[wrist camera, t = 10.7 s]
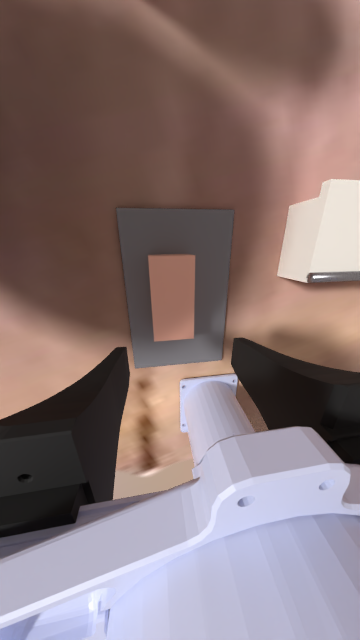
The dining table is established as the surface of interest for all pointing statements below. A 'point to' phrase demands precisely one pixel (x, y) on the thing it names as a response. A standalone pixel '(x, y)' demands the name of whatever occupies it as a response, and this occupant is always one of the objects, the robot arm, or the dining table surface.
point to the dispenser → (324, 236)
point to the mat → (210, 278)
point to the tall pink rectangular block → (172, 295)
